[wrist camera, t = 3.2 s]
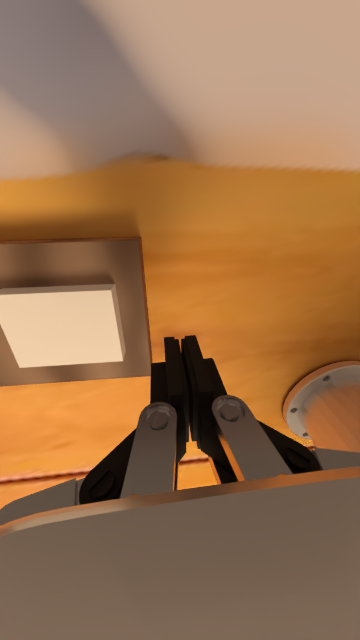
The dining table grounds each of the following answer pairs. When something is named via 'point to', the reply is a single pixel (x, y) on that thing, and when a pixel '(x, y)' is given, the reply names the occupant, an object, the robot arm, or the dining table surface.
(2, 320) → the tile
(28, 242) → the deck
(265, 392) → the dining table surface
